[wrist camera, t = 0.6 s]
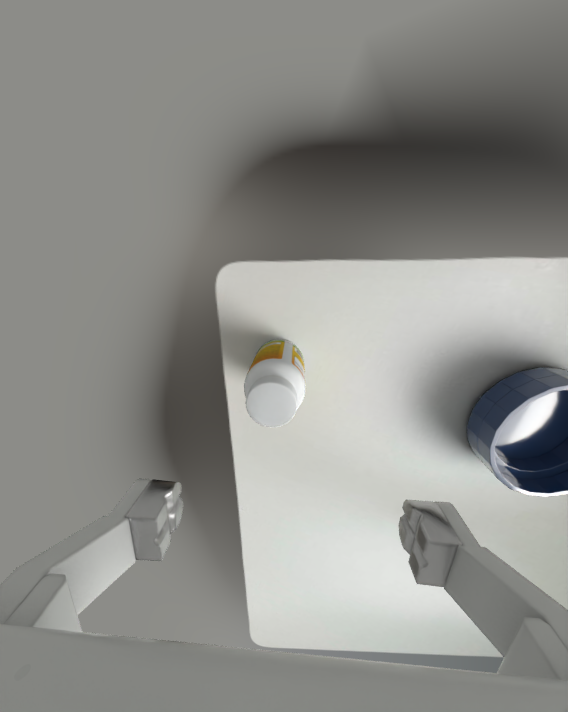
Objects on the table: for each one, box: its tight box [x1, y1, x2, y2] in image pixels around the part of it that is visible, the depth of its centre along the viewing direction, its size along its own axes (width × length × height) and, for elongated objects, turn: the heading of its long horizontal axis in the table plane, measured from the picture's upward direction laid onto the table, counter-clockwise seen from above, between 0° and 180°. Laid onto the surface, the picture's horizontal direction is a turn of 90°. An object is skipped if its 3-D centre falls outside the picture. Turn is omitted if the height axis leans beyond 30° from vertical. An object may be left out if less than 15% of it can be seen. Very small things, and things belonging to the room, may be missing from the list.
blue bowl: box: [467, 368, 568, 497], centre depth 28 cm, size 13×13×4 cm
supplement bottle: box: [244, 340, 305, 427], centre depth 25 cm, size 5×5×10 cm
